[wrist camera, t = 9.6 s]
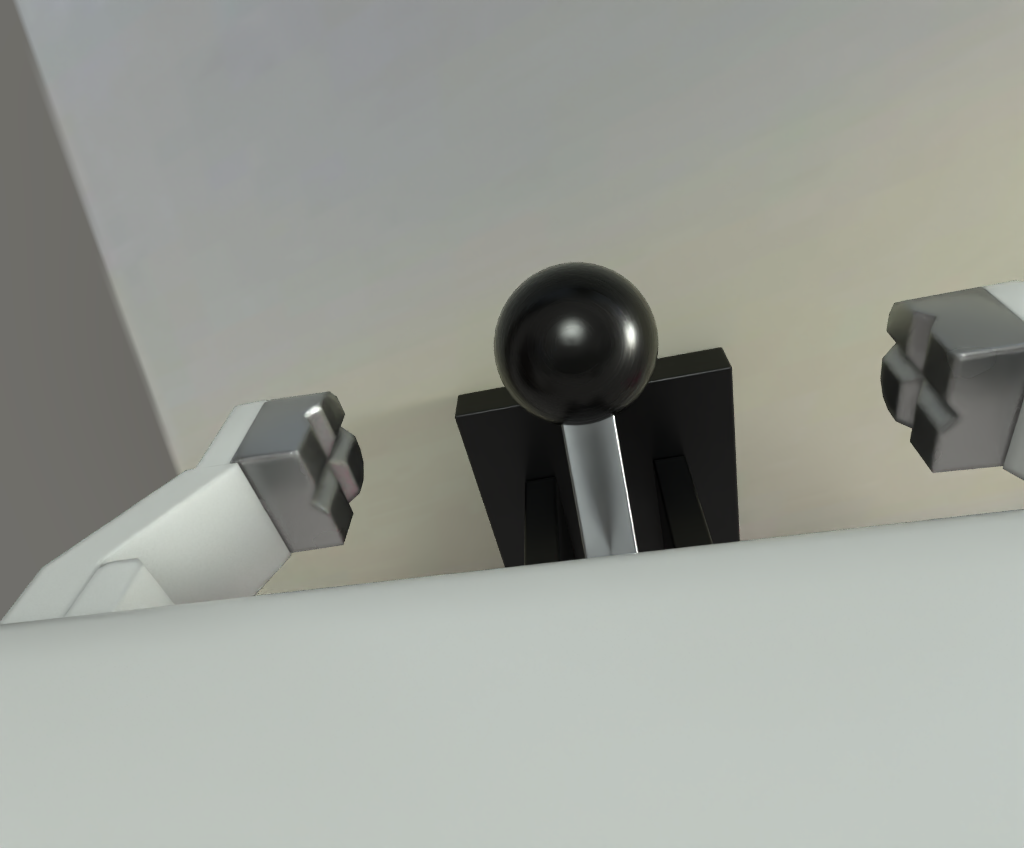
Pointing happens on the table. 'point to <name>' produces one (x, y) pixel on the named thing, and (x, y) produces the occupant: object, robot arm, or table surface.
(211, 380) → the table surface
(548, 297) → the lever
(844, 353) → the table surface
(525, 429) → the switch bracket
